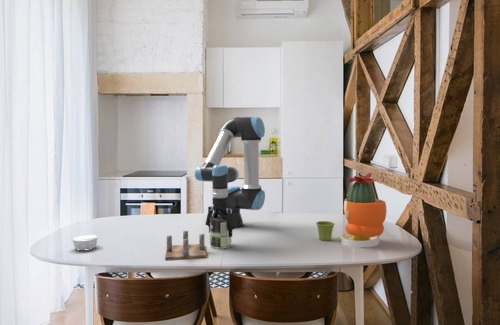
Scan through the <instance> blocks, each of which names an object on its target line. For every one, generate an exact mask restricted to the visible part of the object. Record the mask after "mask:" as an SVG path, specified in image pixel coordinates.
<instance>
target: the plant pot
mask: <svg viewBox="0 0 500 325" xmlns="http://www.w3.org/2000/svg"><path fill="white" fill-rule="evenodd" d="M315 224H316V226H317V231H318V232H317V233H318V240H320V241H325V242H327V241H331V240H332V235H333V230H334V226H335V223H334V221H333V222H332V221H328V220H321V221H317V222H316V223H315Z"/></svg>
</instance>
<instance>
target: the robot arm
mask: <svg viewBox="0 0 500 325" xmlns="http://www.w3.org/2000/svg"><path fill="white" fill-rule="evenodd" d="M265 128H266V127H265V124H264V121H263V119H262V118H261V117H258V116H256V117H255V116H246V117H245V116H243V117H240V116H238V117H237V116H236V117H232V118H231V119H229V120H227V121H226V122H225V123H224V124H223V125H222V126H221V127H220V129H219V131H218V133H217V136H218V137H217V138H216V141H215V142H214V144H213V146H212V148H211V150H210V151H209V154H208V155H207V157H206V159H205V161H204V163H203V165H202V166H197V167H196V168H195V170H194V177H195V179H196V180H197V181H198V182H212V186H211V187H212V201H211V202H212V205H209V206H208V207H207V210H208V212H207V215H206V220H205V226H207V227H208V234H210V218H211V217H212V218H215V217H217V216H222V218H223V219H224V220H226V219H229V222H227V229H228V230H227V244H229V243H231V244H232V237H233V230H236V229H237V228H240V227H243V225H244V220H243V217H242V213H241V210H251V211H260V210H261V209H262V208H263V207H264V204H265V201H266V200H265V199H266V194H265V192H266V191H265V190H263V189H262V185H260V172H259V171H260V168H259V166H260V165H259V164H260V162H259V161H260V160H259V155H260V154H259V153H260V152H259V148H260V146H259V143H261V141H262V138H264V137H265V132H266V131H265ZM235 138H240V140H241V142H242V143H243V177H244V178H243V181H244V182H243V185H242V186H236V185H235V186H229V183H233V182H235V181H237V180H238V178H239V171H238V169H237V168H235V167H233V166H230V167H228V166H227V165H225V164H221V162H222V160H223V158H224V156H225V154H226V152H227V150H228V147H229V145H230V143H231V142H233V141H234V139H235Z"/></svg>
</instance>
